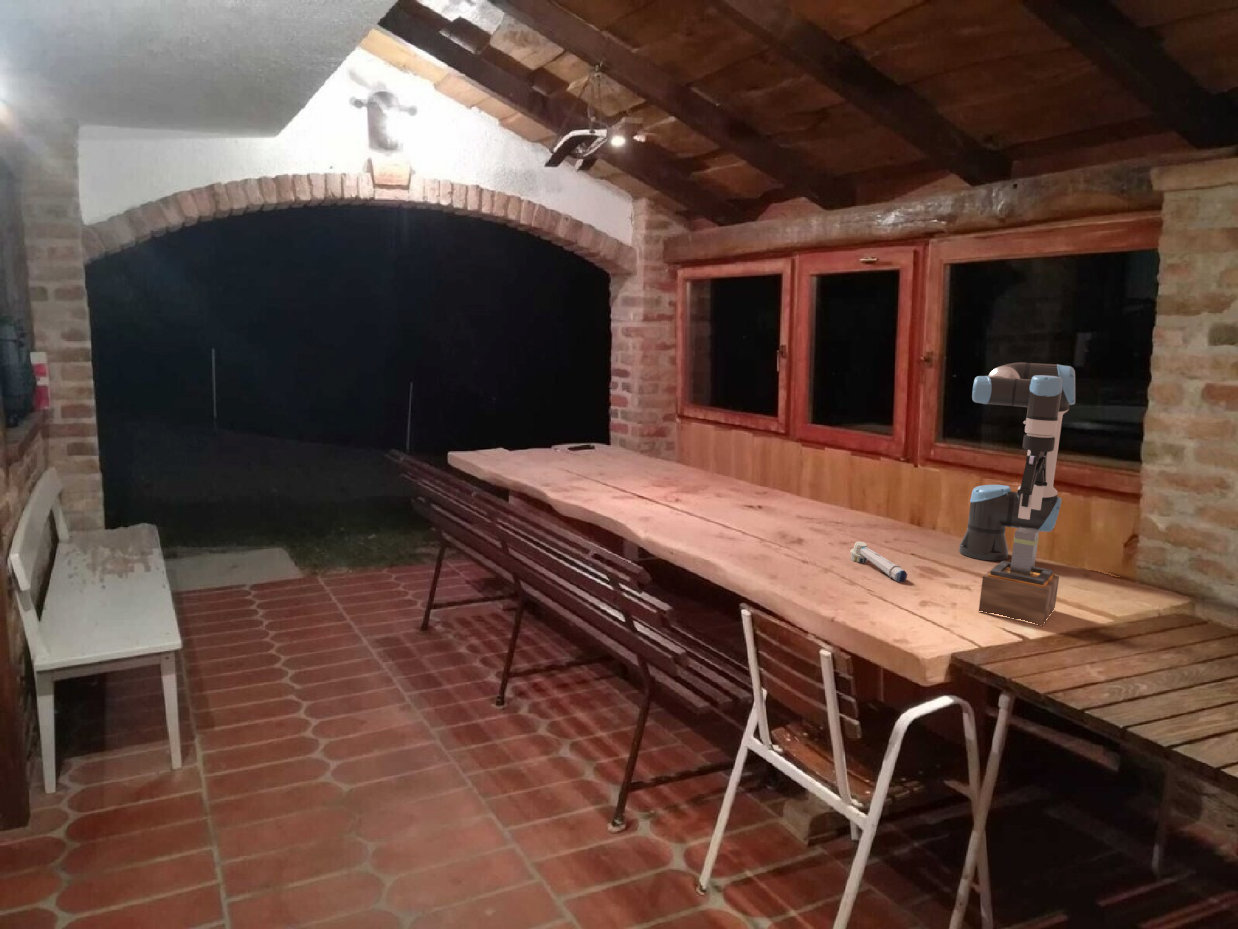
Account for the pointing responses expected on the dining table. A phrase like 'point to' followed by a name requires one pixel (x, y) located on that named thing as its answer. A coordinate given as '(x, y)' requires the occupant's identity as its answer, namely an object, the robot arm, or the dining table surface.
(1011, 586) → the walnut stand
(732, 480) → the dining table surface
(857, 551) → the white plastic rod
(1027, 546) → the steel column
